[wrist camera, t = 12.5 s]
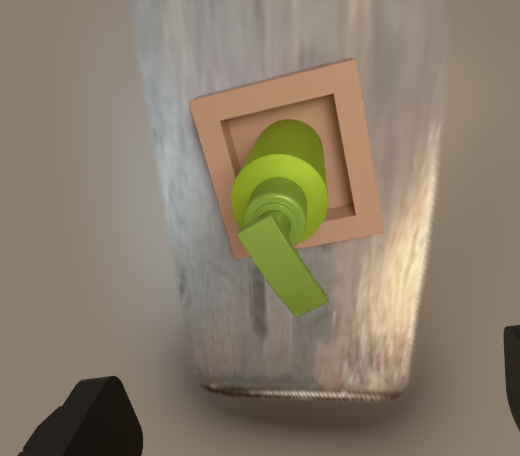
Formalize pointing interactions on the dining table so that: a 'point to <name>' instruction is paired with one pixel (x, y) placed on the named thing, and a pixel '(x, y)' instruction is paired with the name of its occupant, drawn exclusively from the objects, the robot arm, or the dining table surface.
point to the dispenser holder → (315, 115)
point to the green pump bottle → (283, 208)
